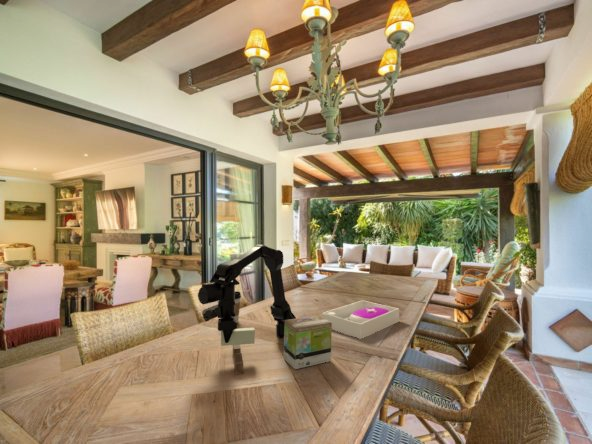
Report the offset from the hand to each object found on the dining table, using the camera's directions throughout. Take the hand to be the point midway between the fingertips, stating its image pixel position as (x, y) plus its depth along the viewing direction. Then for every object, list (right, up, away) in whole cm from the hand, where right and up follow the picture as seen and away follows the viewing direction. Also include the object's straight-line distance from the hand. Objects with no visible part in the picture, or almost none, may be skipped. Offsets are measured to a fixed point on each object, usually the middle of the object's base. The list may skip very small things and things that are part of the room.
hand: (226, 341), depth 108 cm
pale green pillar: (+4, -1, +1) cm, 4 cm away
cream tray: (+58, -9, +41) cm, 72 cm away
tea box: (+30, -8, +1) cm, 31 cm away
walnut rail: (+4, -8, +1) cm, 8 cm away
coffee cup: (-7, -8, +44) cm, 45 cm away
